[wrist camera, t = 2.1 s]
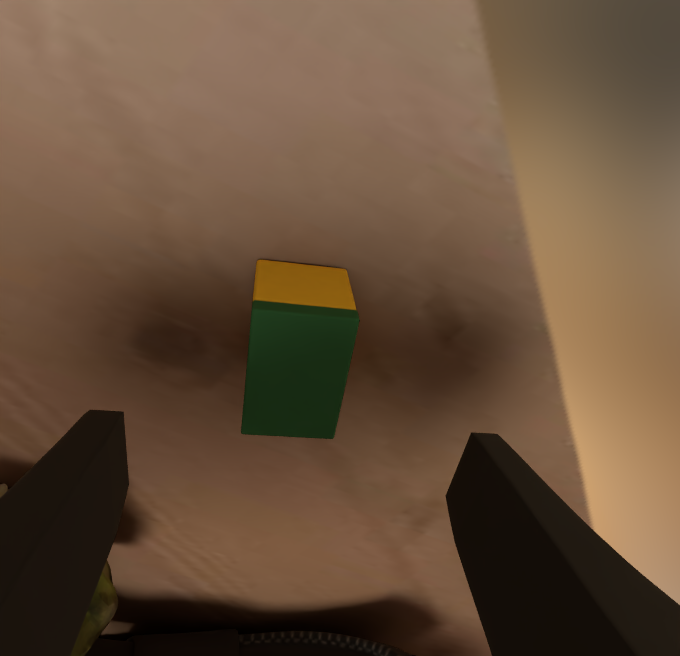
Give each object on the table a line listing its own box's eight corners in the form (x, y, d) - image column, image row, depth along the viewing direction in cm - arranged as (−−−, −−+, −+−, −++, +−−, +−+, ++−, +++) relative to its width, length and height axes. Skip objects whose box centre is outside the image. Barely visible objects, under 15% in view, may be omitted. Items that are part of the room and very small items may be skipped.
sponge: (326, 376, 17) (333, 440, 14) (246, 371, 16) (240, 434, 14) (347, 268, 15) (360, 319, 12) (256, 257, 14) (251, 309, 12)
